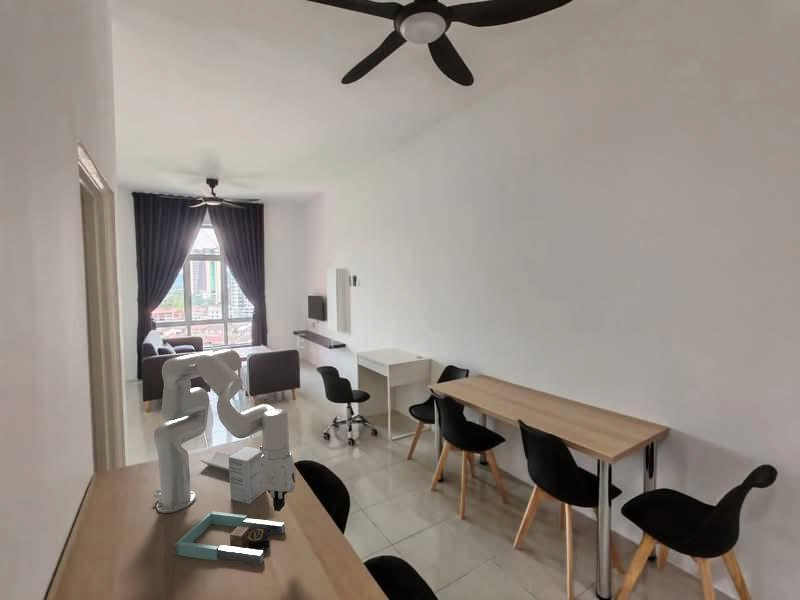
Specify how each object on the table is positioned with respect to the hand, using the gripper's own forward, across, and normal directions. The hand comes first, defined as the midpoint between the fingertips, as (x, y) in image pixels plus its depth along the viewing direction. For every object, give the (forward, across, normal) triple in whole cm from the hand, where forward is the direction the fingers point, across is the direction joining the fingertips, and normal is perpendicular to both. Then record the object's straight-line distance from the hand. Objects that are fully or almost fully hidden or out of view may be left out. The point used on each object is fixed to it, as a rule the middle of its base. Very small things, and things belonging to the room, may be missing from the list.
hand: (279, 508), depth 115 cm
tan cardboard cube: (+13, -14, 0) cm, 19 cm away
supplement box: (+13, -27, +24) cm, 38 cm away
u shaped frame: (+13, -24, 0) cm, 27 cm away
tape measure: (+13, -7, +1) cm, 15 cm away
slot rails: (+13, -10, 0) cm, 16 cm away
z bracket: (+13, -46, +41) cm, 63 cm away
